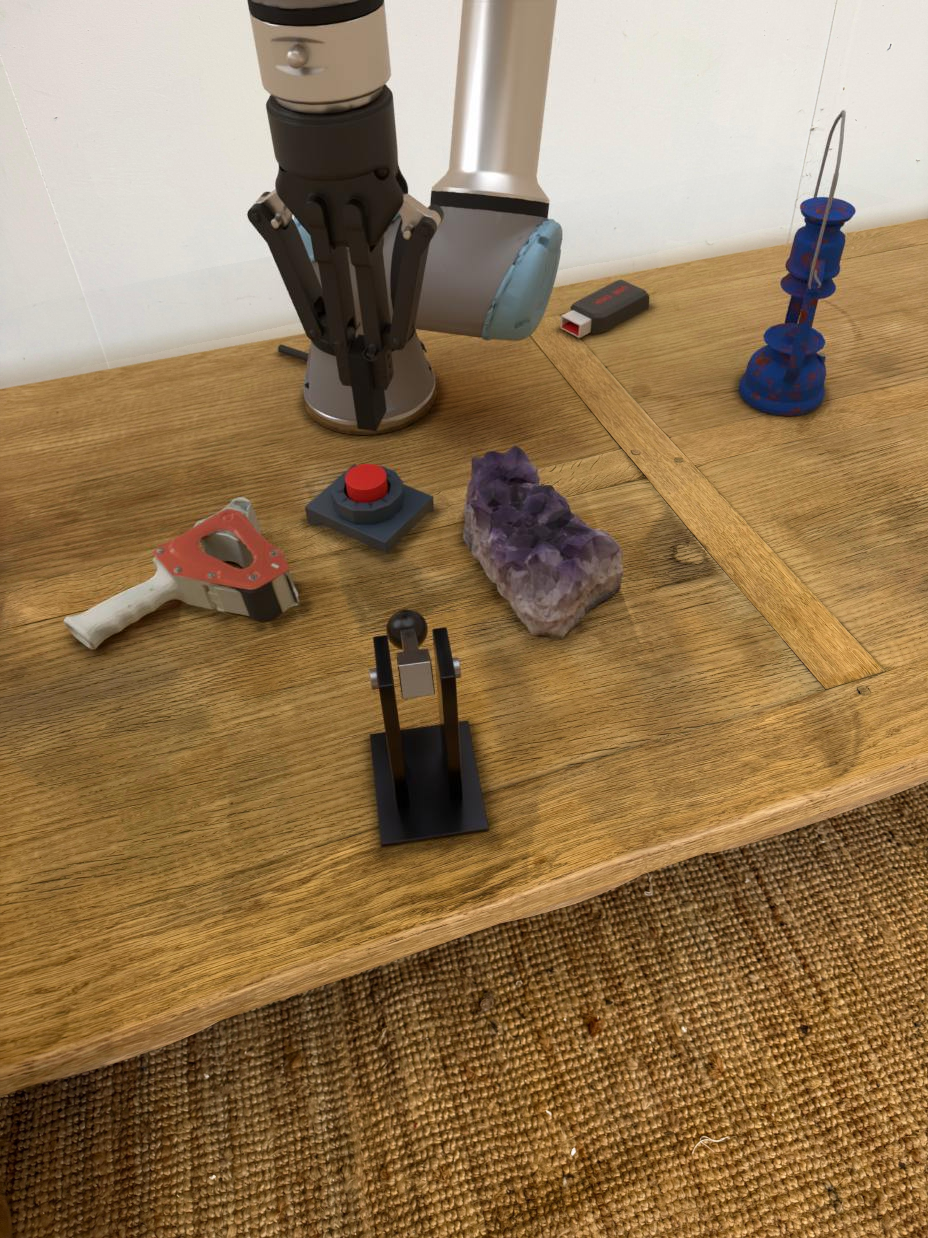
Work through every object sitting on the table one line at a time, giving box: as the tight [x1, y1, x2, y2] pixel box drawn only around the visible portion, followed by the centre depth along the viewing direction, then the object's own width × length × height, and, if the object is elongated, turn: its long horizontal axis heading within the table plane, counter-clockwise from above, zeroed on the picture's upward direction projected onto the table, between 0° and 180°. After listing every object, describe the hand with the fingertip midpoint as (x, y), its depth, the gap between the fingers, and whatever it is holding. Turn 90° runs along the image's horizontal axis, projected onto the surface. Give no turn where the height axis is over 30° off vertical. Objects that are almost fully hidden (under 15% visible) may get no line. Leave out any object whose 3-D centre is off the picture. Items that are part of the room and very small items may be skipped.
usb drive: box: [559, 279, 650, 339], centre depth 119 cm, size 5×12×3 cm, turn 132°
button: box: [345, 463, 388, 503], centre depth 91 cm, size 4×4×2 cm
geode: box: [462, 445, 624, 640], centre depth 86 cm, size 20×12×10 cm, turn 30°
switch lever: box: [385, 608, 436, 700], centre depth 67 cm, size 13×3×3 cm
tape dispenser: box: [63, 496, 300, 650], centre depth 86 cm, size 18×5×20 cm
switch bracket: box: [368, 626, 490, 848], centre depth 67 cm, size 10×8×16 cm
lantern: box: [738, 109, 857, 417], centre depth 96 cm, size 11×9×30 cm
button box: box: [304, 463, 435, 554], centre depth 93 cm, size 10×8×4 cm
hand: (372, 419), depth 72 cm, fingers closed
